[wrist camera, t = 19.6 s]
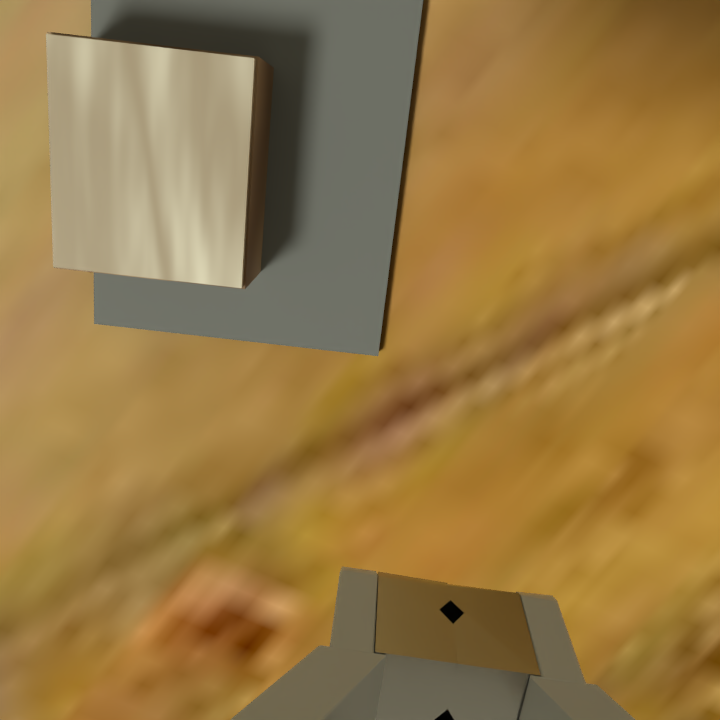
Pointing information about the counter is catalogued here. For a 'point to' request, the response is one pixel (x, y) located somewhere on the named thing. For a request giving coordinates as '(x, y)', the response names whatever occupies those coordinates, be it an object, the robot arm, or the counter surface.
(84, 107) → the wooden block
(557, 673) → the robot arm
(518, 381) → the counter surface
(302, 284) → the rubber mat
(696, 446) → the counter surface
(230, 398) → the counter surface
